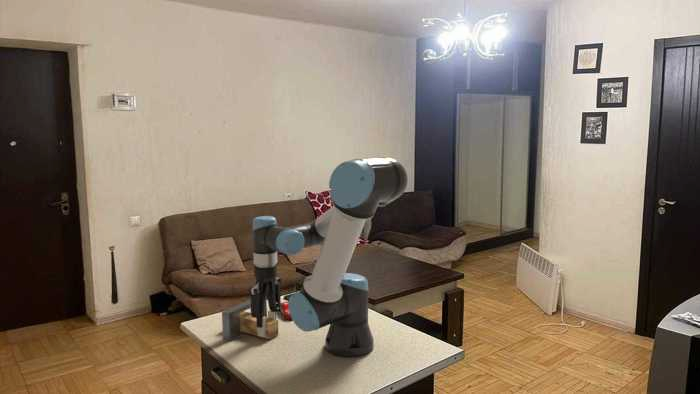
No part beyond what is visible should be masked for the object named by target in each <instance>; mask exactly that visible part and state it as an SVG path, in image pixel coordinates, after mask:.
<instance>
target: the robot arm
mask: <svg viewBox="0 0 700 394" xmlns="http://www.w3.org/2000/svg"><path fill="white" fill-rule="evenodd" d="M406 171H407V170H406V169H405V167H404V165H402V164H401V162H399V161H398V160H396V159H394V158H391V157H377V158H367V159H366V158H365V159H362V158H354V159H351V160H346V161H344V162H341V163H339V164H338V165H337V166H336V167H335V168H334V169H333V171H332V173H331V174H330V178H329V182H328V188H329V189H330V191H329V195H330V198H331V203H332V205H333V206H331V207H330V208H329V209H327V210H326V211H325V212H324V213H322V214H320V216H318V217H317V218H315V219H314V220H312V221H311V222H308V223H307V222H306V223H303V224H299V225H292V226H287V227H285V226H284V227H283V226H279V225H278V223H277V219H276V218H275V217H274V216H271V215H262V216H256V217H255V218H253V220H252V249H253V250H252V251H253V276H254V278H255V283H254V286H253V287H249V288H248V289H249V291H248V292H249V293H250V299H251V308H250V313H251V316H252V317H255V318H256V320H257V327H258V336H257V337H259V336H262V337H261V338H263V337H265V336H266V332H265V317H263V316H264V308H265V300H266V297H267V304H268V309H269V310H267V317H268V318H272V319H276V320H277V313H278V312H279V308H280V306H281V302H282V301H281V300H282V299H281V296H282V295H281V285H282V281H283V280H282V278H278V277H277V276H278V265H277V263H278V252H279V253H281V254H284V255H291V256H292V255H293V256H296V255H298V254H299V253H301V251H302V250H303V249H307V248H311V247H316V246H321V248H320V251H319V254H318V255H317V256H318V257H317V259H316V263H315V265H314V268H313V271H312V274H311V275H308V276H306V277H305V278H304V280H303V283H302V286H301V288H300V290H299V291H295V292H293V293H294V294H292V293H291V294H292V295H291V296H290V298H289V300H288V307H289V312H290V315H291V318H292V320H291V321H293V323H294V324H295V326H296V327H297V328H298V329H299V330H301V331H302V332H306V333H307V332H308V333H309V332H312V331H318V330H319V329H321V328H325V327H326V326H329V327H328V331H327V334H326V337H325V341H324V342H325V347H324V348H325V350H326V351H327V352H328V353H329V354H332V355H335V356H338V357H345V358H353V357H362V356H364V355H367V354H370V352H372V351H373V349H374V347H375V346H374V343H375V342H374V337H373V333H372V331H371V328H370V325H369V292H370V289H369V282H368V279H367V278H366V277H365V276H363V275H361V274H357V273H350V272H346V271H347V269H348V267H349V266H350V265H349V264H350V262H351V259H352V256H353V255H354V251H355V249H356V246H357V244H358V242H359V239H360V236H361V233H362V231H363V229H364V226H365V224H366V221H367V220H371V219H372V218H374V216H375V214H376V212H377V211H376V210H377V208H378V207H385V206H387V205H389V204H390V203H392V202H394V201H395V200H397V199H399V198H400V197H401V196H402V195H403V194H404V192H405V191H406V189H407V186H408V173H407V172H406Z"/></svg>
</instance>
